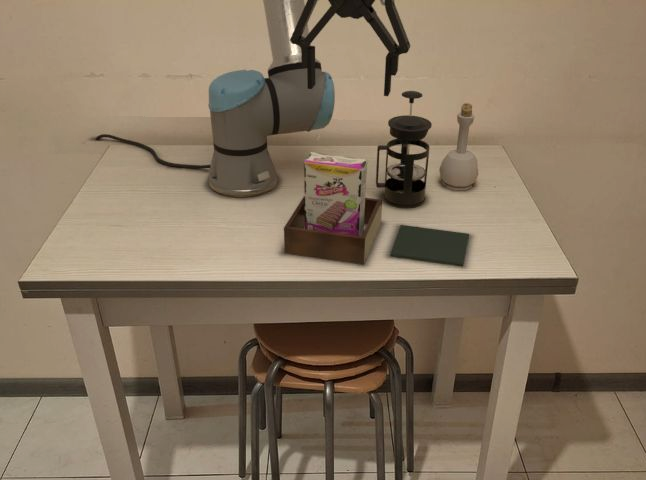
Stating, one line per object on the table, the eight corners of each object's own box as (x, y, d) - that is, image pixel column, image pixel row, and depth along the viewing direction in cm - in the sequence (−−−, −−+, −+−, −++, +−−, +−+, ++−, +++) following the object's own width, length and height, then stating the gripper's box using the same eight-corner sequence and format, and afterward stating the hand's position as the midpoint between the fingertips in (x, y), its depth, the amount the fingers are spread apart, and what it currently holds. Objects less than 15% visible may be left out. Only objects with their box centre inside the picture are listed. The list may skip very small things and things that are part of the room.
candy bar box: (304, 240, 138) (302, 161, 127) (310, 228, 141) (309, 151, 131) (359, 248, 136) (362, 168, 125) (364, 235, 140) (367, 157, 129)
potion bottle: (475, 176, 163) (486, 99, 152) (476, 193, 156) (488, 113, 145) (438, 174, 164) (446, 97, 152) (437, 190, 157) (446, 111, 145)
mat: (390, 256, 134) (390, 253, 133) (400, 227, 143) (400, 224, 142) (462, 266, 131) (463, 263, 131) (468, 236, 141) (469, 233, 140)
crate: (284, 253, 133) (283, 227, 130) (308, 214, 146) (307, 190, 143) (364, 264, 131) (365, 238, 128) (381, 223, 144) (382, 199, 140)
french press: (425, 189, 157) (435, 85, 143) (431, 208, 150) (442, 101, 135) (373, 188, 156) (378, 84, 142) (376, 208, 149) (381, 100, 135)
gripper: (268, -49, 108) (274, 90, 121) (428, -38, 105) (416, 103, 118) (282, -56, 114) (286, 77, 127) (433, -46, 110) (422, 89, 124)
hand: (349, 90), depth 122 cm, fingers open, 13 cm apart
